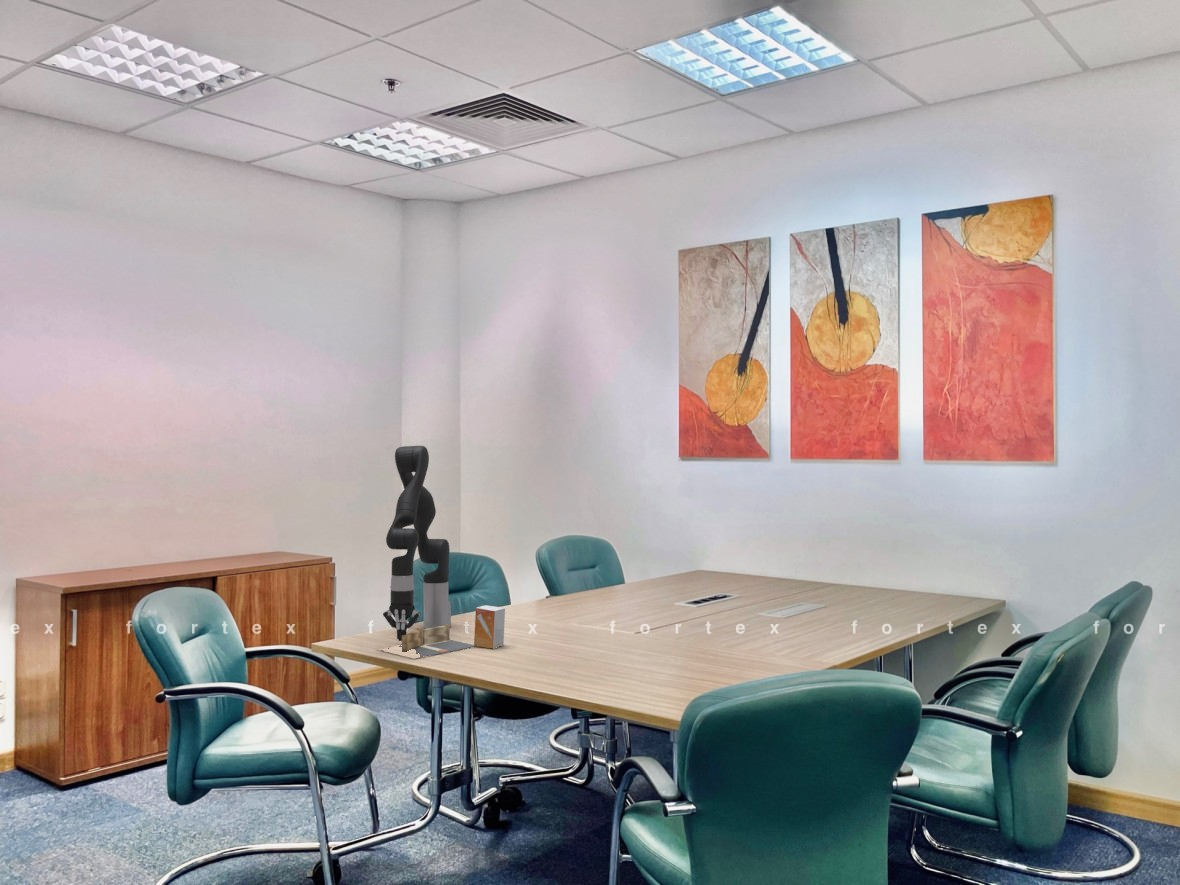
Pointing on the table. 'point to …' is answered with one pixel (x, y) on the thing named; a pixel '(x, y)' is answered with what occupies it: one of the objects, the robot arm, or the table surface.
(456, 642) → the card
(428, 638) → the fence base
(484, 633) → the small box
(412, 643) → the fence gate
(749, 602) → the table surface
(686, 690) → the table surface
